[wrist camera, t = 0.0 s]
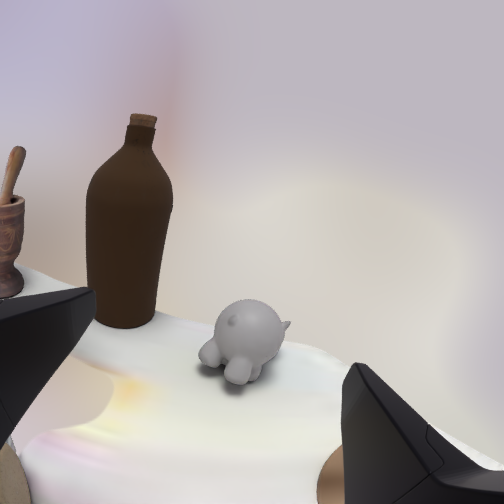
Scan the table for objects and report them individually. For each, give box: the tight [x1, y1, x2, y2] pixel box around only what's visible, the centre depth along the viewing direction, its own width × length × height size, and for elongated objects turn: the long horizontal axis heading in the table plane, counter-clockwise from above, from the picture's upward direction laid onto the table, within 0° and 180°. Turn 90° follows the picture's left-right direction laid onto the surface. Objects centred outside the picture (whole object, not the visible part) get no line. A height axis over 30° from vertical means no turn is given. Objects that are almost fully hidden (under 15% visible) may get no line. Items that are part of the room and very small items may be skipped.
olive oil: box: [86, 114, 173, 328], centre depth 32 cm, size 11×11×25 cm
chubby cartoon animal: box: [198, 299, 291, 385], centre depth 32 cm, size 7×12×8 cm, turn 140°
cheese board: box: [317, 445, 344, 504], centre depth 16 cm, size 14×14×4 cm
